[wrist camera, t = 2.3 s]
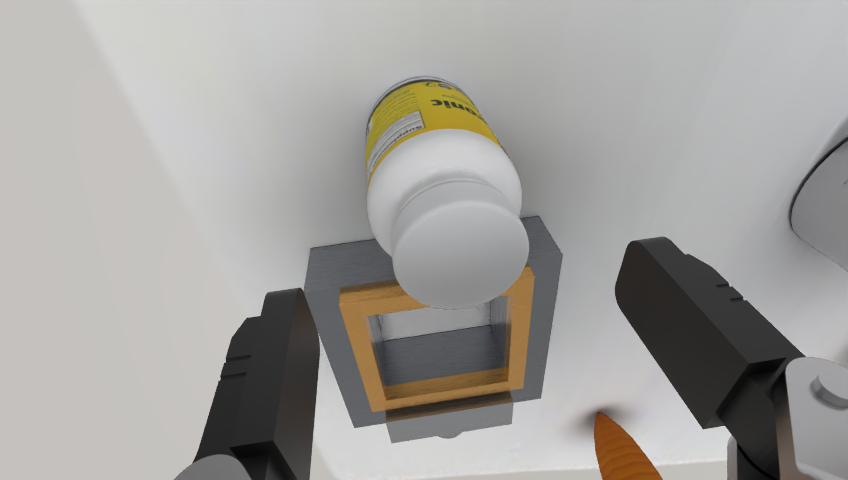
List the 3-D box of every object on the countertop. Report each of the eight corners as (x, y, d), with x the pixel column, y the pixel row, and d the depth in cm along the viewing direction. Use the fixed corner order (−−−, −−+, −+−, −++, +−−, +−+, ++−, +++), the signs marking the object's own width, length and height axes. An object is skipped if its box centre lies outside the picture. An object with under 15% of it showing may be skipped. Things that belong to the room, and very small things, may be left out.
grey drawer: (539, 216, 23) (574, 274, 19) (522, 386, 34) (543, 447, 30) (310, 248, 23) (299, 315, 19) (364, 411, 33) (364, 476, 29)
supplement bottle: (500, 134, 20) (586, 262, 12) (417, 201, 22) (446, 350, 14) (429, 45, 17) (484, 137, 9) (341, 129, 19) (324, 266, 11)
